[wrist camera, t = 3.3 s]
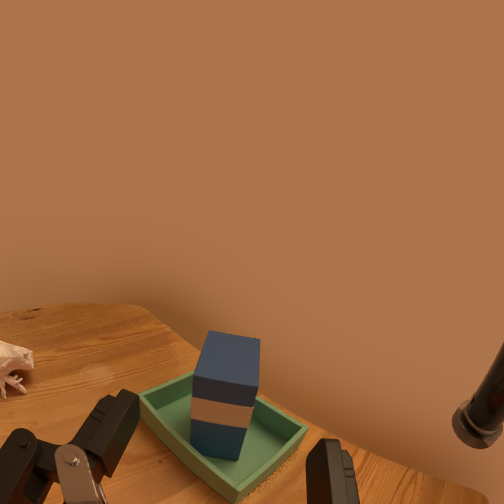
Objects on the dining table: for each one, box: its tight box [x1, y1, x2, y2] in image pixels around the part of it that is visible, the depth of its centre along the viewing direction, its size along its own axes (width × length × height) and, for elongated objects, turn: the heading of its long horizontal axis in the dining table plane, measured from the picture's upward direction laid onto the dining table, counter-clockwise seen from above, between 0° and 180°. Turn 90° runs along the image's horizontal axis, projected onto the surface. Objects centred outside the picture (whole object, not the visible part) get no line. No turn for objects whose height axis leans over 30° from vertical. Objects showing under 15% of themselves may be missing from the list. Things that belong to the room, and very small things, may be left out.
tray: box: [137, 370, 309, 504], centre depth 25 cm, size 15×11×4 cm
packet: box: [190, 331, 260, 461], centre depth 23 cm, size 5×7×12 cm
